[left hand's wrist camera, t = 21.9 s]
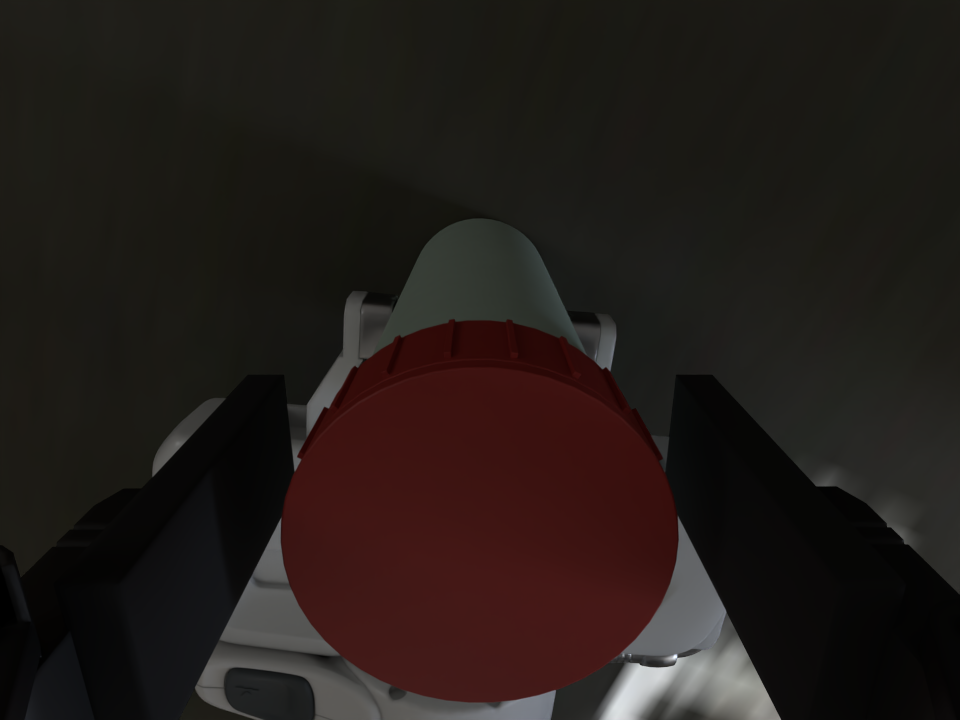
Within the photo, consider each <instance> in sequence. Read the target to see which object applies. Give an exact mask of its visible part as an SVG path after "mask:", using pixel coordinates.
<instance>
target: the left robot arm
mask: <svg viewBox="0 0 960 720" xmlns="http://www.w3.org/2000/svg"><path fill="white" fill-rule="evenodd" d="M294 473H295V470H294V461H293V452H292V443H291V434H290V425H289V416H288V408H287V399H286V390H285V381H284V375H247V376H246V377H245V379H244V380H243V381H242V382H241V383H240V384H239V385H238V386H237V387H236V388H235V389H234V390H233V391H232V392H231V394H230V395H229V396H228V397H227V398H226V399H225V400H224V401H223V402H222V403H221V404H220V405H219V406H218V407H217V409H216V410H215V411H214V412H213V413H212V414H211V415H210V416H209V417H208V418H207V419H206V420H205V421H204V422H203V424H202V425H201V426H200V427H199V428H198V429H197V430H196V431H195V432H194V433H193V434H192V435H191V436H190V437H189V439H188V440H187V441H186V442H185V443H184V444H183V445H182V446H181V447H180V448H179V449H178V450H177V451H176V453H175V454H174V455H173V456H172V457H171V458H170V459H169V460H168V461H167V462H166V463H165V464H164V465H163V466H162V468H161V469H160V470H159V471H158V472H157V473H156V474H155V475H154V476H153V477H152V478H151V479H150V480H149V481H148V483H147V484H146V485H145V486H144V487H143V488H142V489H122V490H121V491H119V492H117V493H115V494H114V495H112V496H110V497H109V498H107V499H105V500H103V501H102V502H100V503H98V504H96V505H95V506H93V507H92V508H91V509H90V510H89V511H88V512H87V513H86V514H85V515H84V516H83V517H82V518H81V519H80V520H79V521H78V522H77V523H76V524H75V525H74V529H73V530H69V531H68V532H67V533H66V534H65V535H64V536H63V537H62V538H61V539H60V540H59V541H58V542H57V546H56V547H52V548H51V549H50V550H49V551H48V552H47V553H46V554H45V555H44V556H43V557H42V558H41V559H40V560H39V561H38V562H37V563H36V564H35V565H34V566H33V567H32V568H30V569H29V570H28V571H27V572H26V573H25V574H24V575H23V576H22V577H21V578H20V574H19V571H18V568H17V564H16V561H15V557H14V554H13V552H11V551H10V550H8V549H7V548H5V547H4V546H2V545H0V720H179V718H180V716H181V714H182V712H183V710H184V708H185V706H186V704H187V702H188V700H189V698H190V696H191V695H192V693H193V691H194V689H195V687H196V685H197V683H198V681H199V679H200V677H201V675H202V673H203V671H204V669H205V667H206V665H207V663H208V661H209V659H210V657H211V655H212V653H213V651H214V649H215V647H216V645H217V643H218V641H219V639H220V637H221V635H222V633H223V631H224V629H225V628H226V626H227V624H228V622H229V620H230V618H231V616H232V614H233V612H234V610H235V608H236V606H237V604H238V602H239V600H240V598H241V596H242V594H243V592H244V590H245V588H246V586H247V584H248V582H249V580H250V578H251V576H252V574H253V572H254V570H255V568H256V566H257V564H258V562H259V561H260V559H261V557H262V555H263V553H264V551H265V549H266V547H267V545H268V543H269V541H270V539H271V537H272V535H273V533H274V531H275V529H276V527H277V525H278V523H279V521H280V519H281V517H282V512H283V506H284V501H285V496H286V494H287V491H288V488H289V485H290V482H291V479H292V476H293V474H294ZM665 473H666V476H667V479H668V482H669V484H670V487H671V490H672V492H673V495H674V500H675V505H676V510H677V515H678V517H679V519H680V521H681V523H682V525H683V527H684V529H685V531H686V533H687V535H688V537H689V539H690V541H691V543H692V545H693V547H694V549H695V551H696V553H697V555H698V557H699V559H700V561H701V562H702V564H703V566H704V568H705V570H706V572H707V574H708V576H709V578H710V580H711V582H712V584H713V586H714V588H715V590H716V592H717V594H718V596H719V598H720V600H721V602H722V604H723V606H724V608H725V610H726V612H727V614H728V616H729V618H730V620H731V622H732V624H733V626H734V628H735V629H736V631H737V633H738V635H739V637H740V639H741V641H742V643H743V645H744V647H745V649H746V651H747V653H748V655H749V657H750V659H751V661H752V663H753V665H754V667H755V669H756V671H757V673H758V675H759V677H760V679H761V681H762V683H763V685H764V687H765V689H766V691H767V693H768V695H769V696H770V698H771V700H772V702H773V704H774V706H775V708H776V710H777V712H778V714H779V716H780V718H781V720H960V595H959V594H958V593H957V592H956V591H955V590H954V589H953V588H952V587H951V586H950V585H949V584H948V583H947V582H946V581H945V580H944V579H943V578H942V577H941V576H940V575H939V574H938V573H937V572H936V571H935V570H934V569H933V568H932V567H931V566H930V565H929V564H928V563H927V562H926V561H925V560H924V559H923V558H922V557H920V556H919V555H918V554H917V553H916V552H915V551H914V550H913V549H912V548H911V547H910V546H909V545H905V544H904V540H903V539H902V538H901V537H900V536H899V535H898V534H897V533H896V532H895V531H894V530H893V529H892V528H891V527H887V523H886V522H885V521H884V520H883V519H882V518H881V517H880V516H879V515H878V514H876V513H875V512H874V511H873V510H872V509H871V508H870V507H869V506H868V505H867V504H866V503H864V502H863V501H861V500H859V499H858V498H856V497H854V496H852V495H851V494H849V493H847V492H845V491H844V490H842V489H840V488H838V487H816V486H815V485H814V484H813V483H812V481H811V480H810V479H809V478H808V477H807V476H806V475H805V474H804V473H803V472H802V471H801V470H800V469H799V468H798V466H797V465H796V464H795V463H794V462H793V461H792V460H791V459H790V458H789V457H788V456H787V455H786V454H785V453H784V451H783V450H782V449H781V448H780V447H779V446H778V445H777V444H776V443H775V442H774V441H773V440H772V439H771V437H770V436H769V435H768V434H767V433H766V432H765V431H764V430H763V429H762V428H761V427H760V426H759V425H758V424H757V422H756V421H755V420H754V419H753V418H752V417H751V416H750V415H749V414H748V413H747V412H746V411H745V410H744V409H743V407H742V406H741V405H740V404H739V403H738V402H737V401H736V400H735V399H734V398H733V397H732V396H731V395H730V394H729V392H728V391H727V390H726V389H725V388H724V387H723V386H722V385H721V384H720V383H719V382H718V381H717V380H716V379H715V377H714V376H713V375H676V381H675V390H674V399H673V407H672V416H671V425H670V434H669V443H668V452H667V461H666V470H665Z"/></svg>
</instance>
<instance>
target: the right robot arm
mask: <svg viewBox="0 0 960 720" xmlns="http://www.w3.org/2000/svg"><path fill="white" fill-rule="evenodd" d="M397 302H398V295H390V294H381V293H372V292H366V291H352V293H351V294H350V295H349V297H348V298H347V301H346V306H345V312H344V339H343V350H342V352H341V353H340V355H339V356H338V358H337V359H336V361H335V362H334V364H333V365H332V366H331V368H330V369H329V371H328V372H327V374H326V375H325V377H324V378H323V380H322V382H321V383H320V385H319V386H318V388H317V389H316V391H315V393H314V394H313V396H312V397H311V399H310V401H309V402H308V404H307V405H296V404H287V408H288V416H289V425H290V434H291V443H292V452H293V461H294V470H295V471H296V469H297V467H298V465H299V463H300V461H301V459H300V458H297V455H298V453H299V451H300V449H301V448H302V446H303V444H304V442H305V440H306V439H307V437H308V435H309V433H310V431H311V430H312V428H313V426H314V424H315V422H316V421H317V419H318V417H319V415H320V413H321V412H322V410H323V408H324V407H327V408H329V407H330V405H331V403H332V401H333V400H334V398H335V396H336V394H337V393H338V391H339V390H340V389H341V387H342V385H343V383H344V382H345V380H346V378H347V376H348V374H349V372H350V370H351V369H352V368H353V367H354V366H356V367H357V368H358V367H359V365H360V364H361V362H362V361H363V359H369V358H370V357H371V356H372V355H373V353H374V351H375V348H376V346H377V344H378V342H379V340H380V338H381V336H382V334H383V331H384V329H385V327H386V325H387V323H388V321H389V319H390V317H391V314H392V312H393V310H394V308H395V306H396V304H397ZM566 312H567V314H568V316H569V318H570V320H571V322H572V324H573V327H574V329H575V331H576V333H577V335H578V337H579V339H580V341H581V344H582V346H583V348H584V350H585V352H586V354H587V356H588V357H589V358H591V359H592V360H594V361H595V362H596V363H597V364H598V365H599V366H600V367H601V368H602V369H604V368H605V367H607V368H608V369H609V371H610V370H611V364H612V359H613V353H614V347H615V341H616V324H615V322H614V320H613V319H612V318H611V316H610V315H609V314H600V313H589V312H577V311H566ZM225 399H226V398H212V399H209V400H207V401H205V402H204V403H202V404H201V405H200V406H199V407H198V408H197V409H195V410H194V411H193V412H192V413H191V414H190V415H188V416H187V417H186V418H185V419H184V420H183V421H181V422H180V423H179V424H178V425H177V427H176V428H175V429H174V430H173V431H172V432H171V433H170V434H169V436H168V437H167V438H166V439H165V440H164V442H163V443H162V445H161V446H160V448H159V449H158V451H157V453H156V456H155V458H154V462H153V470H152V477H153V476H154V475H155V474H156V473H157V472H158V471H159V470H160V469H161V468H162V466H163V465H164V464H165V463H166V462H167V461H168V460H169V459H170V458H171V457H172V456H173V455H174V454H175V453H176V451H177V450H178V449H179V448H180V447H181V446H182V445H183V444H184V443H185V442H186V441H187V440H188V439H189V437H190V436H191V435H192V434H193V433H194V432H195V431H196V430H197V429H198V428H199V427H200V426H201V425H202V424H203V422H204V421H205V420H206V419H207V418H208V417H209V416H210V415H211V414H212V413H213V412H214V411H215V410H216V409H217V407H218V406H219V405H220V404H221V403H222V402H223V401H224V400H225ZM651 437H652V438H653V440H654V442H655V444H656V446H657V447H658V449H659V451H660V453H661V455H662V457H663V459H662V460H660V461H659V462H660V464H661V466H662V468H663V470H664V472H665V470H666V461H667V452H668V443H669V437H665V436H654V435H651ZM678 531H679V542H678V551H677V559H676V564H675V568H674V572H673V575H672V579H671V583H670V585H669V588H668V590H667V592H666V594H665V597H664V599H663V601H662V603H661V605H660V607H659V608H658V610H657V611H656V613H655V615H654V616H653V618H652V620H651V621H650V623H649V624H648V625H647V626H646V627H645V629H644V630H643V631H642V632H641V634H640V635H639V636H638V637H637V638H636V639H635V640H634V641H633V642H632V643H631V644H630V645H629V646H628V647H627V648H626V649H625V650H624V651H623V652H622V653H621V654H620V655H618V656H617V657H615V658H614V659H613V660H611V661H610V662H609V663H615V662H630V663H640V665H642V666H647V667H668V666H673V665H675V663H676V660H677V658H680V657H686V656H690V655H693V654H695V653H697V652H699V651H701V650H706V649H709V648H711V647H712V646H713V645H714V644H715V642H716V641H717V639H718V637H719V635H720V631H721V628H722V624H723V621H724V617H725V614H726V610H725V608H724V606H723V604H722V602H721V600H720V598H719V596H718V594H717V592H716V590H715V588H714V586H713V584H712V582H711V580H710V578H709V576H708V574H707V572H706V570H705V568H704V566H703V564H702V562H701V561H700V559H699V557H698V555H697V553H696V551H695V549H694V547H693V545H692V543H691V541H690V539H689V537H688V535H687V533H686V531H685V529H684V527H683V525H682V523H681V521H680V519H679V517H678ZM195 689H196V692H197V694H198V695H199V696H200V697H201V698H202V699H203V700H204V701H205V702H207V703H209V704H211V705H213V706H215V707H218V708H221V709H224V710H227V711H230V712H233V713H236V714H240V715H243V716H246V717H249V718H252V719H255V720H551V715H552V709H553V703H554V698H555V692H556V690H554V691H551V692H548V693H545V694H541V695H538V696H533V697H528V698H524V699H519V700H512V701H503V702H493V703H467V702H457V701H446V700H441V699H436V698H431V697H426V696H421V695H418V694H415V693H412V692H408V691H405V690H402V689H399V688H397V687H394V686H392V685H390V684H387V683H385V682H383V681H380V680H378V679H376V678H375V677H373V676H371V675H369V674H368V673H366V672H364V671H362V670H360V669H359V668H357V667H356V666H355V665H353V664H352V663H351V662H349V661H348V660H346V659H345V658H344V657H342V656H341V655H340V654H339V653H338V652H337V651H335V650H334V649H333V648H332V647H331V646H330V645H329V644H328V643H327V642H326V641H325V640H324V639H323V638H322V637H321V636H320V634H319V633H318V632H317V631H316V630H315V629H314V627H313V626H312V625H311V624H310V622H309V621H308V619H307V617H306V616H305V614H304V613H303V611H302V610H301V608H300V607H299V605H298V603H297V600H296V598H295V596H294V594H293V592H292V590H291V587H290V585H289V581H288V578H287V575H286V571H285V568H284V564H283V557H282V549H281V519H280V521H279V523H278V525H277V527H276V529H275V531H274V533H273V535H272V537H271V539H270V541H269V543H268V545H267V547H266V549H265V551H264V553H263V555H262V557H261V559H260V561H259V562H258V564H257V566H256V568H255V570H254V572H253V574H252V576H251V578H250V580H249V582H248V584H247V586H246V588H245V590H244V592H243V594H242V596H241V598H240V600H239V602H238V604H237V606H236V608H235V610H234V612H233V614H232V616H231V618H230V620H229V622H228V624H227V626H226V628H225V629H224V631H223V633H222V635H221V637H220V639H219V641H218V643H217V645H216V647H215V649H214V651H213V653H212V655H211V657H210V659H209V661H208V663H207V665H206V667H205V669H204V671H203V673H202V675H201V677H200V679H199V681H198V683H197V685H196V687H195Z"/></svg>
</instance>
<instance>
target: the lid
mask: <svg viewBox="0 0 960 720" xmlns="http://www.w3.org/2000/svg"><path fill="white" fill-rule="evenodd" d="M297 458H300V459H301V461H300V463H299V465H298V467H297V469H296V471H295V473H294V474H293V476H292V479H291V482H290V485H289V488H288V491H287V494H286V496H285V501H284V506H283V512H282V517H281V549H282V557H283V564H284V568H285V571H286V575H287V578H288V581H289V585H290V587H291V590H292V592H293V594H294V596H295V598H296V600H297V603H298V605H299V607H300V608H301V610H302V611H303V613H304V614H305V616H306V617H307V619H308V621H309V622H310V624H311V625H312V626H313V627H314V629H315V630H316V631H317V632H318V633H319V634H320V636H321V637H322V638H323V639H324V640H325V641H326V642H327V643H328V644H329V645H330V646H331V647H332V648H333V649H334V650H335V651H337V652H338V653H339V654H340V655H341V656H342V657H344V658H345V659H346V660H348V661H349V662H351V663H352V664H353V665H355V666H356V667H357V668H359V669H360V670H362V671H364V672H366V673H368V674H369V675H371V676H373V677H375V678H376V679H378V680H380V681H383V682H385V683H387V684H390V685H392V686H394V687H397V688H399V689H402V690H405V691H408V692H412V693H415V694H418V695H421V696H426V697H431V698H436V699H441V700H446V701H457V702H467V703H493V702H503V701H512V700H519V699H524V698H528V697H533V696H538V695H541V694H545V693H548V692H551V691H554V690H557V689H560V688H563V687H565V686H567V685H570V684H572V683H574V682H576V681H579V680H581V679H583V678H585V677H586V676H588V675H590V674H592V673H593V672H595V671H597V670H599V669H600V668H602V667H603V666H605V665H606V664H607V663H609V662H610V661H611V660H613V659H614V658H615V657H617V656H618V655H620V654H621V653H622V652H623V651H624V650H625V649H626V648H627V647H628V646H629V645H630V644H631V643H632V642H633V641H634V640H635V639H636V638H637V637H638V636H639V635H640V634H641V632H642V631H643V630H644V629H645V627H646V626H647V625H648V624H649V623H650V621H651V620H652V618H653V616H654V615H655V613H656V611H657V610H658V608H659V607H660V605H661V603H662V601H663V599H664V597H665V594H666V592H667V590H668V588H669V585H670V583H671V579H672V575H673V572H674V568H675V564H676V559H677V551H678V542H679V531H678V515H677V510H676V505H675V500H674V495H673V492H672V490H671V487H670V484H669V482H668V479H667V476H666V473H665V472H664V470H663V468H662V466H661V464H660V462H659V461H660V460H662V459H663V457H662V455H661V453H660V451H659V449H658V447H657V446H656V444H655V442H654V440H653V438H652V437H651V435H650V433H649V431H648V429H647V428H646V426H645V424H644V422H643V420H642V419H641V417H640V415H639V413H638V411H637V410H636V408H635V409H633V410H631V408H630V406H629V405H628V403H627V401H626V399H625V397H624V396H623V394H622V392H621V391H620V389H619V387H618V386H617V384H616V382H615V380H614V378H613V376H612V374H611V372H610V371H609V369H608V368H607V367H605V368H604V369H602V368H601V367H600V366H599V365H598V364H597V363H596V362H595V361H594V360H592V359H591V358H589V357H588V356H587V355H585V354H584V353H583V352H581V351H580V350H579V349H577V348H576V347H574V346H572V345H571V344H569V343H568V341H567V339H566V338H565V337H563V336H561V337H560V338H558V337H556V336H553V335H551V334H548V333H546V332H543V331H540V330H538V329H535V328H531V327H527V326H523V325H519V324H515V323H513V320H509V319H507V320H506V322H501V321H493V320H466V321H458V322H455V319H450V320H449V322H448V323H443V324H440V325H436V326H432V327H428V328H425V329H421V330H419V331H416V332H414V333H411V334H409V335H406V336H404V337H401V336H400V335H398V336H396V337H395V338H394V341H393V342H392V343H391V344H389V345H387V346H385V347H384V348H382V349H380V350H379V351H378V352H376V353H375V354H374V355H373V356H371V357H370V358H369V359H367V360H366V361H365V362H363V363H362V364H361V365H360V367H359V368H357V367H356V366H354V367H353V368H352V369H351V370H350V372H349V374H348V376H347V378H346V380H345V382H344V383H343V385H342V387H341V389H340V390H339V391H338V393H337V394H336V396H335V398H334V400H333V401H332V403H331V405H330V407H329V408H327V407H324V408H323V410H322V412H321V413H320V415H319V417H318V419H317V421H316V422H315V424H314V426H313V428H312V430H311V431H310V433H309V435H308V437H307V439H306V440H305V442H304V444H303V446H302V448H301V449H300V451H299V453H298V455H297Z"/></svg>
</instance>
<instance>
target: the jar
mask: <svg viewBox="0 0 960 720" xmlns="http://www.w3.org/2000/svg"><path fill="white" fill-rule="evenodd" d="M450 319H455V322H458V321H466V320H493V321H501V322H506V320H507V319H509V320H513V323H515V324H519V325H523V326H527V327H531V328H535V329H538V330H540V331H543V332H546V333H548V334H551V335H553V336H556V337H558V338H560V337H561V336H563V337H565V338H566V339H567V341H568V343H569V344H571V345H572V346H574V347H576V348H577V349H579V350H580V351H581V352H583V353H584V354H585V355H587V354H586V352H585V350H584V348H583V346H582V344H581V341H580V339H579V337H578V335H577V333H576V331H575V329H574V327H573V324H572V322H571V320H570V318H569V316H568V314H567V312H566V310H565V307H564V305H563V303H562V301H561V299H560V297H559V295H558V293H557V290H556V288H555V286H554V284H553V282H552V280H551V278H550V276H549V273H548V271H547V269H546V267H545V265H544V263H543V261H542V258H541V256H540V254H539V253H538V251H537V249H536V248H535V246H534V245H533V244H532V243H531V241H530V240H529V239H528V238H527V237H526V236H525V235H524V234H522V233H521V232H520V231H518V230H517V229H515V228H513V227H512V226H510V225H508V224H505V223H503V222H500V221H496V220H492V219H483V218H480V219H468V220H463V221H460V222H456V223H454V224H452V225H449V226H447V227H446V228H444V229H442V230H441V231H439V232H438V233H437V234H436V235H435V236H433V237H432V238H431V239H430V241H429V242H428V243H427V244H426V245H425V247H424V248H423V250H422V251H421V253H420V255H419V257H418V259H417V261H416V263H415V265H414V268H413V270H412V272H411V274H410V276H409V278H408V280H407V282H406V285H405V287H404V289H403V291H402V293H401V295H400V297H399V299H398V302H397V304H396V306H395V308H394V310H393V312H392V314H391V317H390V319H389V321H388V323H387V325H386V327H385V329H384V331H383V334H382V336H381V338H380V340H379V342H378V344H377V346H376V348H375V351H374V353H373V355H374V354H375V353H376V352H378V351H379V350H380V349H382V348H384V347H385V346H387V345H389V344H391V343H392V342H393V341H394V338H395V337H396V336H398V335H400V336H401V337H404V336H406V335H409V334H411V333H414V332H416V331H419V330H421V329H425V328H428V327H432V326H436V325H440V324H443V323H448V322H449V320H450ZM373 355H372V356H373Z"/></svg>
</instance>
